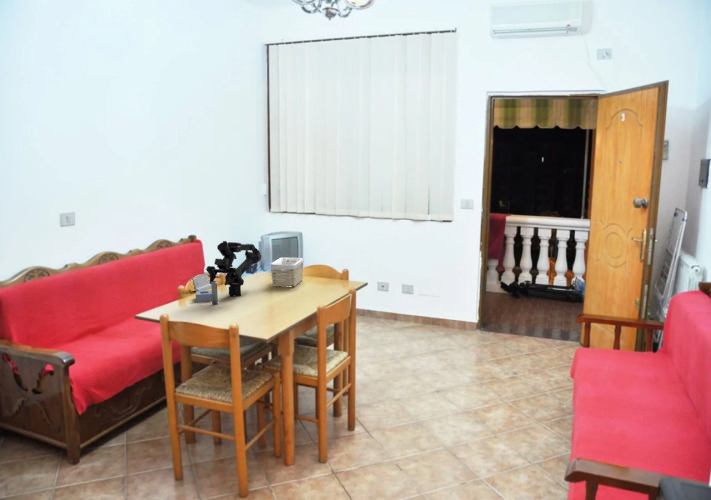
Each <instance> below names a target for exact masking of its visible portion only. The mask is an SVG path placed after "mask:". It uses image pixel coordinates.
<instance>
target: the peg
mask: <svg viewBox="0 0 711 500" xmlns="http://www.w3.org/2000/svg"><path fill="white" fill-rule="evenodd" d="M210 289H211V290H212V301H211V305H212V306H217V305H219V302H218V301H219V300H218V299H219V298H218V281H215V280H214V281H212V282H211V288H210Z"/></svg>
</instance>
